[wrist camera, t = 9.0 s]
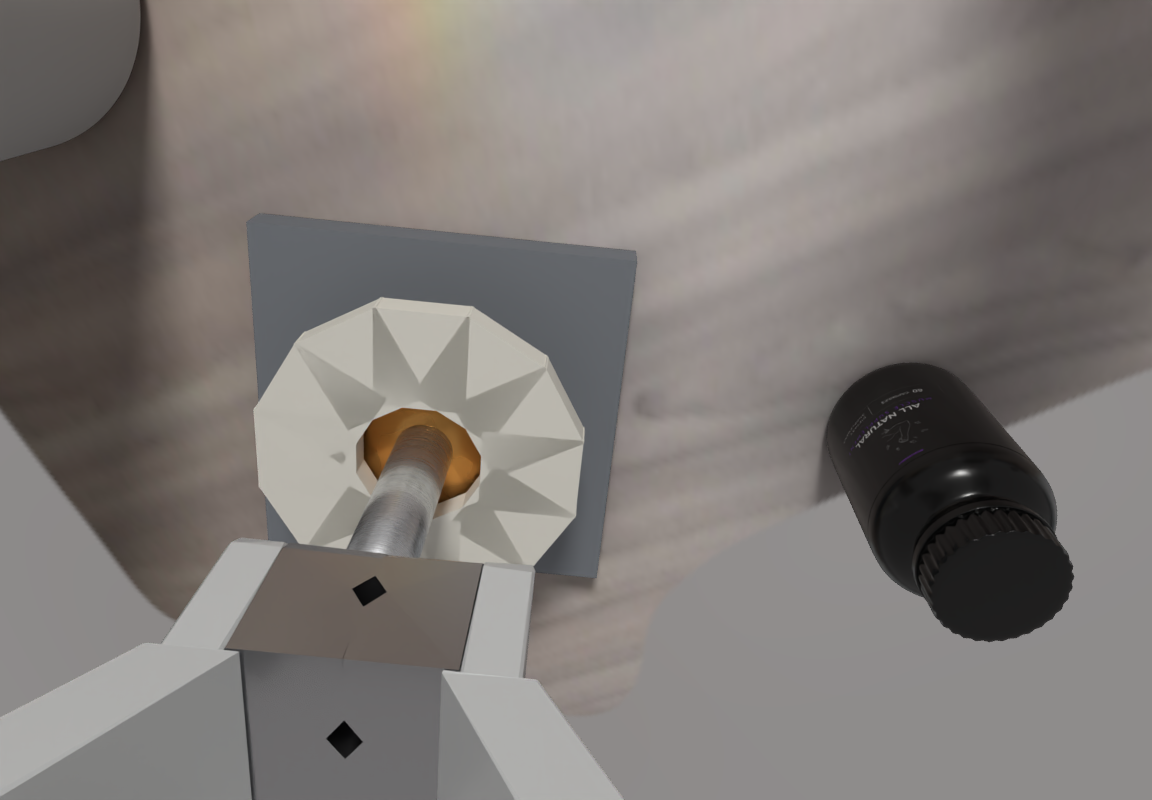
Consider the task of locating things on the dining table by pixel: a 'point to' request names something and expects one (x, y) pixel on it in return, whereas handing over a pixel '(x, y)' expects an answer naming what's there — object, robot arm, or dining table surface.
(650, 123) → the dining table surface
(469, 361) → the silicone ring
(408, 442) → the silver and orange rod
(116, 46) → the cylinder vase
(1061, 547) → the supplement bottle
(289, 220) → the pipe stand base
